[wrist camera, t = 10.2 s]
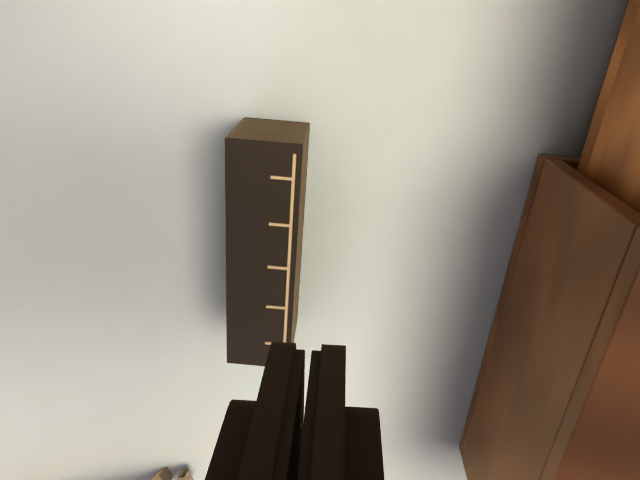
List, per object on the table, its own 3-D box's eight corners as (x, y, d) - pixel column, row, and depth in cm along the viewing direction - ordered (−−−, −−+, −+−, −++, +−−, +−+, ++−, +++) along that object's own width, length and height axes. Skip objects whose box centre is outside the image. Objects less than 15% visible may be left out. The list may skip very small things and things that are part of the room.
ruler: (244, 117, 22) (224, 137, 18) (310, 122, 22) (303, 144, 18) (242, 315, 27) (226, 363, 23) (297, 320, 27) (289, 369, 23)
